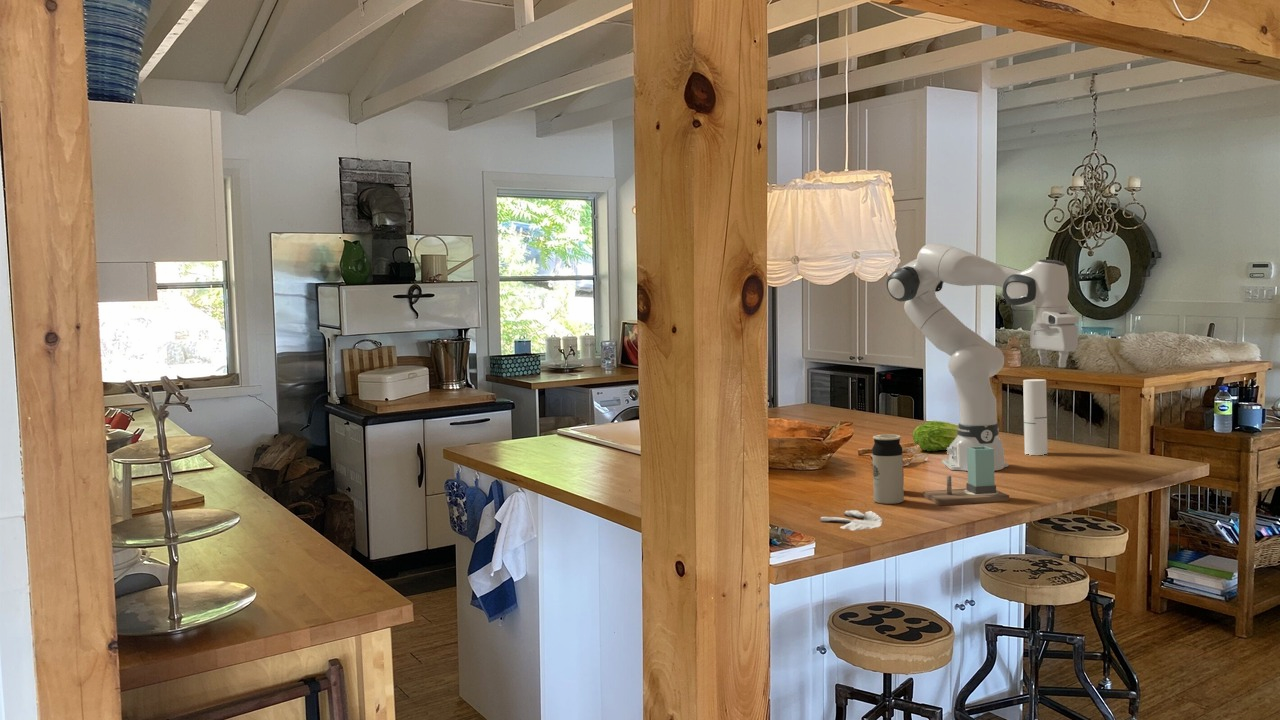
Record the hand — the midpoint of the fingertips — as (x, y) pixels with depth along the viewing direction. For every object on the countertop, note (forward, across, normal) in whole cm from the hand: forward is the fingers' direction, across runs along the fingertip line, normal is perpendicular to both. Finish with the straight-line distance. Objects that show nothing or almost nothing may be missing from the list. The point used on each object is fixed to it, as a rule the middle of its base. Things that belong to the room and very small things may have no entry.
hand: (1053, 366), depth 279 cm
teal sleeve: (+32, +9, -26) cm, 42 cm away
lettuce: (+34, -69, -3) cm, 77 cm away
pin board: (+34, +9, -30) cm, 47 cm away
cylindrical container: (+34, -50, +20) cm, 64 cm away
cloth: (+35, +23, -67) cm, 79 cm away
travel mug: (+34, +6, -51) cm, 62 cm away
